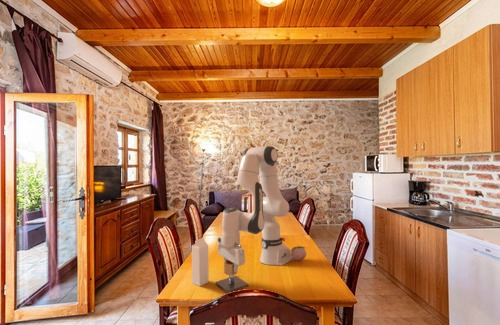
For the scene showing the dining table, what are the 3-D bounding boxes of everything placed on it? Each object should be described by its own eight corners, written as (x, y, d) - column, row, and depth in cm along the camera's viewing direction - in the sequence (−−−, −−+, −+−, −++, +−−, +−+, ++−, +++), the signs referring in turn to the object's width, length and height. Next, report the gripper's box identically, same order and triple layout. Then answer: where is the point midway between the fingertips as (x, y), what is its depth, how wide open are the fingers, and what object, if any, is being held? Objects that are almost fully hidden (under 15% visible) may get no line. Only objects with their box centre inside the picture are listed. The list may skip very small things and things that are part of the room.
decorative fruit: (301, 258, 159) (300, 242, 160) (308, 262, 152) (308, 246, 152) (288, 260, 156) (287, 244, 156) (295, 265, 148) (294, 248, 149)
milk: (208, 282, 129) (208, 238, 129) (199, 286, 124) (199, 241, 124) (201, 278, 133) (200, 236, 133) (191, 283, 128) (191, 239, 128)
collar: (233, 268, 129) (233, 258, 129) (239, 272, 124) (239, 262, 124) (222, 271, 126) (222, 261, 126) (228, 276, 121) (228, 265, 121)
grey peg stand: (235, 277, 134) (235, 262, 134) (248, 286, 124) (248, 269, 124) (215, 283, 127) (215, 267, 127) (227, 293, 117) (227, 276, 117)
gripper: (248, 244, 119) (248, 274, 119) (226, 235, 135) (226, 261, 135) (236, 247, 115) (237, 278, 115) (215, 237, 132) (216, 264, 132)
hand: (231, 268), depth 125 cm, fingers closed on collar, 6 cm apart
